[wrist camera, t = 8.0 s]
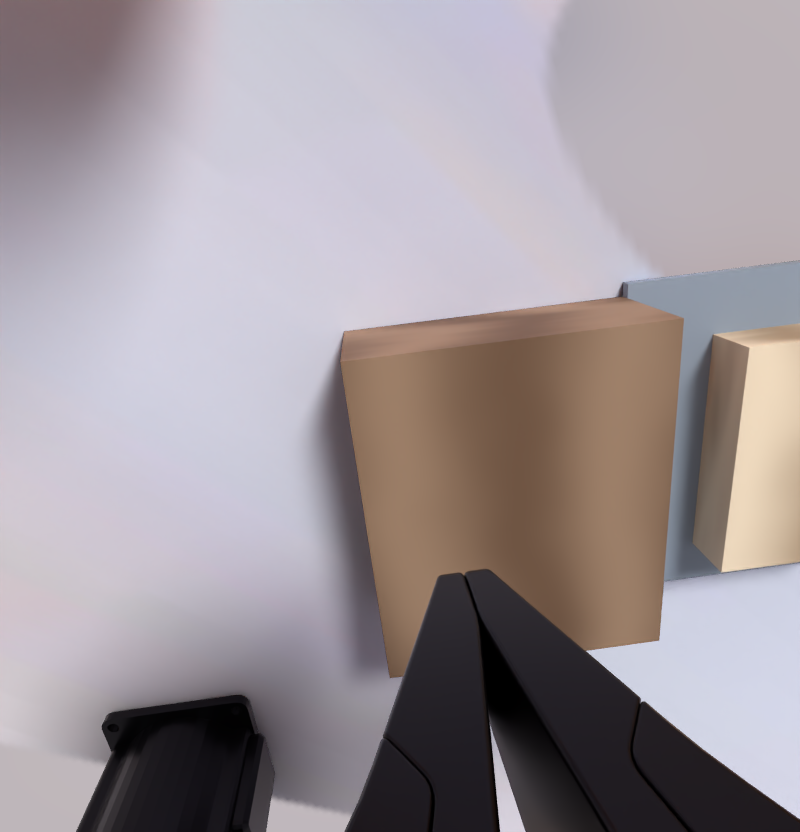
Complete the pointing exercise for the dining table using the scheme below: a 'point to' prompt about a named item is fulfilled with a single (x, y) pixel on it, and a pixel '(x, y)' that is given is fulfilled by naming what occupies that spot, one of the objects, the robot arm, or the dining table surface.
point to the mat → (704, 316)
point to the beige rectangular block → (751, 451)
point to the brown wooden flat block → (520, 462)
